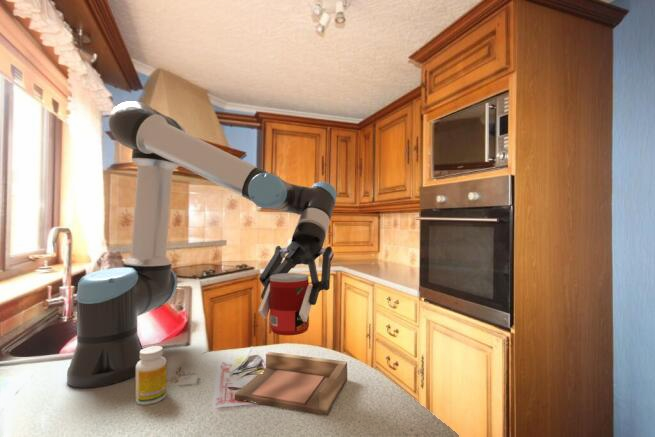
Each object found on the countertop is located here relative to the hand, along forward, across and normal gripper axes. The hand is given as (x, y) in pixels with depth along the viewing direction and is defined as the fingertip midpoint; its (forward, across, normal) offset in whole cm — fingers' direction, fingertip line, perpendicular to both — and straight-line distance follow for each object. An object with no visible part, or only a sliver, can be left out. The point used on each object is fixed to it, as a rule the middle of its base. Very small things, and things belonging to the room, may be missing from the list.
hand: (282, 316), depth 64 cm
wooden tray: (+8, 0, -14) cm, 17 cm away
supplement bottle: (+17, +25, -6) cm, 31 cm away
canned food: (0, 0, -5) cm, 5 cm away
